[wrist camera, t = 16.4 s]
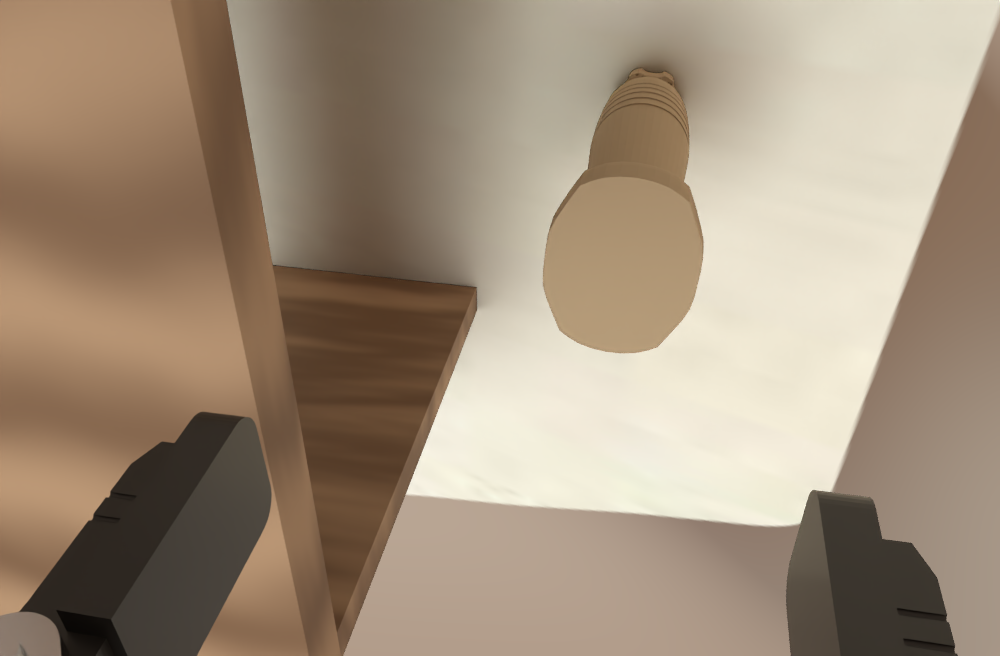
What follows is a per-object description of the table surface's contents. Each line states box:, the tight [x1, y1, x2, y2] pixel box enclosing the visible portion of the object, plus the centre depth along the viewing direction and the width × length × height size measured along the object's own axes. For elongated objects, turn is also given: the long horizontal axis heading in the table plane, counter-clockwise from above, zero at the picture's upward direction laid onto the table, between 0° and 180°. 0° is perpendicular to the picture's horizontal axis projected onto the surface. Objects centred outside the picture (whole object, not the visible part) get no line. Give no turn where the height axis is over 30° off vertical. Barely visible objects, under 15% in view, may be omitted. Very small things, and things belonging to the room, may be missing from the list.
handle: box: [543, 68, 703, 353], centre depth 33 cm, size 5×6×15 cm
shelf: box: [0, 0, 477, 656], centre depth 32 cm, size 25×12×24 cm, turn 0°
